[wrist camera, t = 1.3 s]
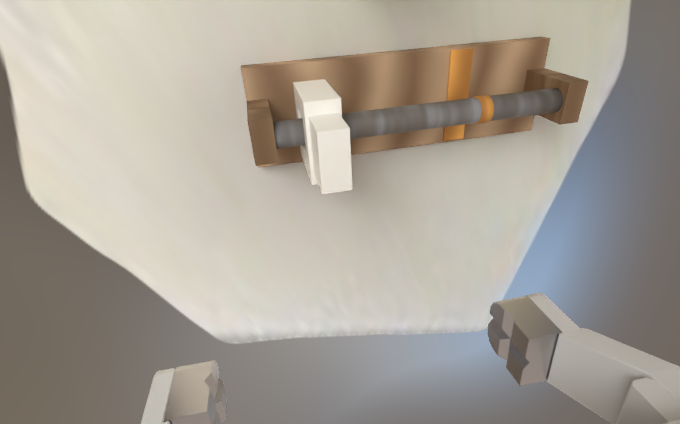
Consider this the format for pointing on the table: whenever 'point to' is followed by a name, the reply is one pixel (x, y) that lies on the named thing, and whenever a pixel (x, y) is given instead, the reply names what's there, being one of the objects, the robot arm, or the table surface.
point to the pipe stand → (413, 96)
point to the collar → (324, 136)
